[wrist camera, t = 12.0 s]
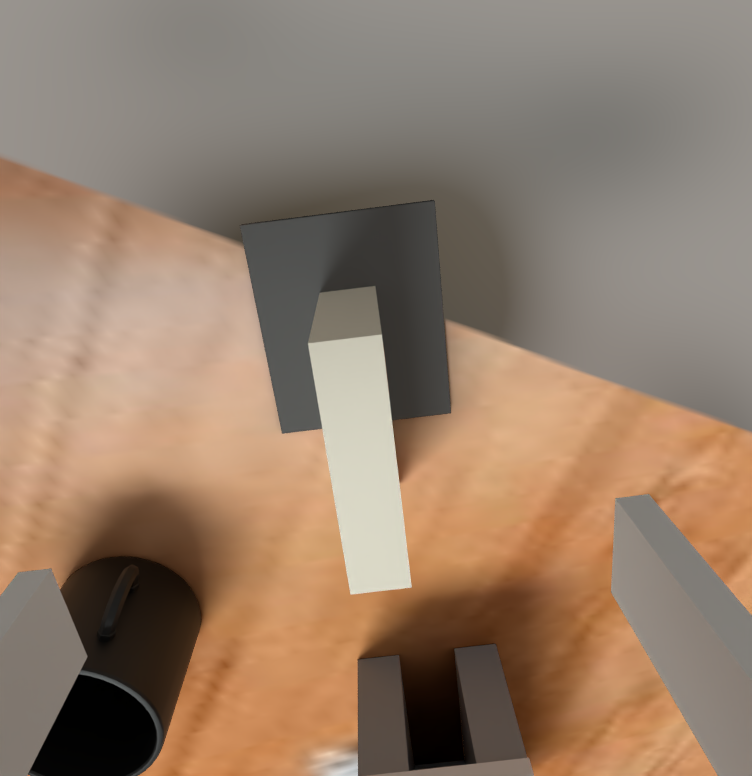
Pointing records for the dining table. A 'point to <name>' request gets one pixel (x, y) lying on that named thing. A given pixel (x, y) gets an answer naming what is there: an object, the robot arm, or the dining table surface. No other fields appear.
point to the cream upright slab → (359, 438)
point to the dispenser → (477, 713)
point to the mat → (348, 271)
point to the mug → (122, 668)
